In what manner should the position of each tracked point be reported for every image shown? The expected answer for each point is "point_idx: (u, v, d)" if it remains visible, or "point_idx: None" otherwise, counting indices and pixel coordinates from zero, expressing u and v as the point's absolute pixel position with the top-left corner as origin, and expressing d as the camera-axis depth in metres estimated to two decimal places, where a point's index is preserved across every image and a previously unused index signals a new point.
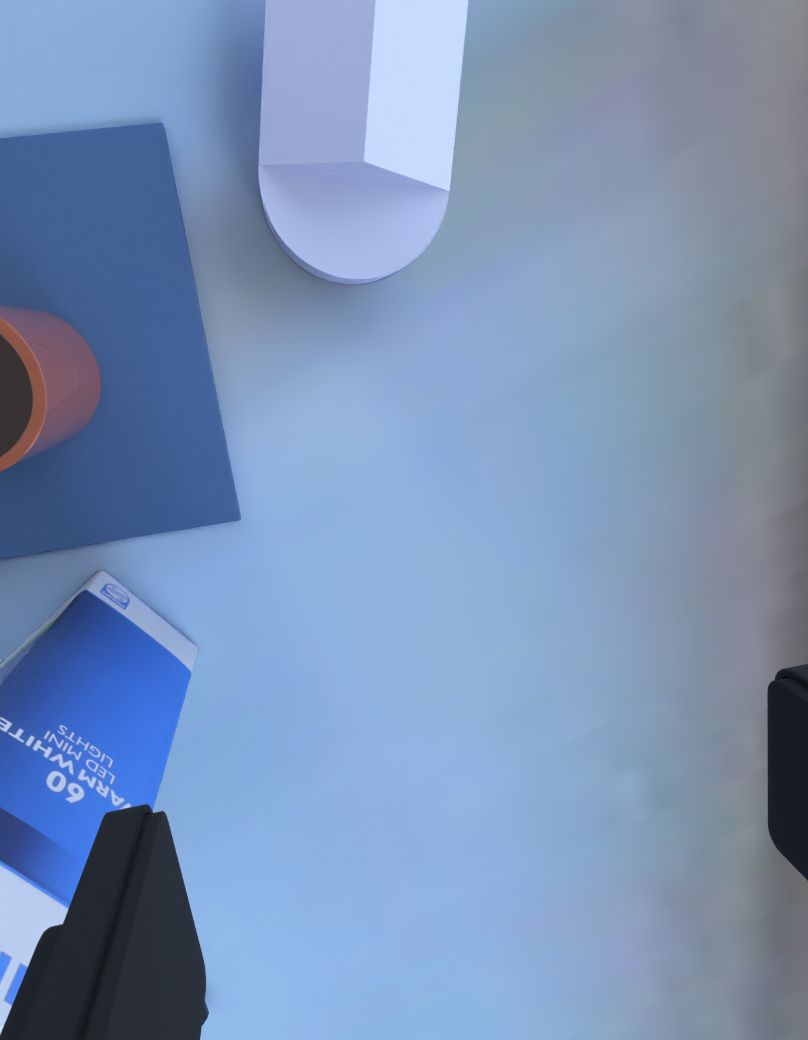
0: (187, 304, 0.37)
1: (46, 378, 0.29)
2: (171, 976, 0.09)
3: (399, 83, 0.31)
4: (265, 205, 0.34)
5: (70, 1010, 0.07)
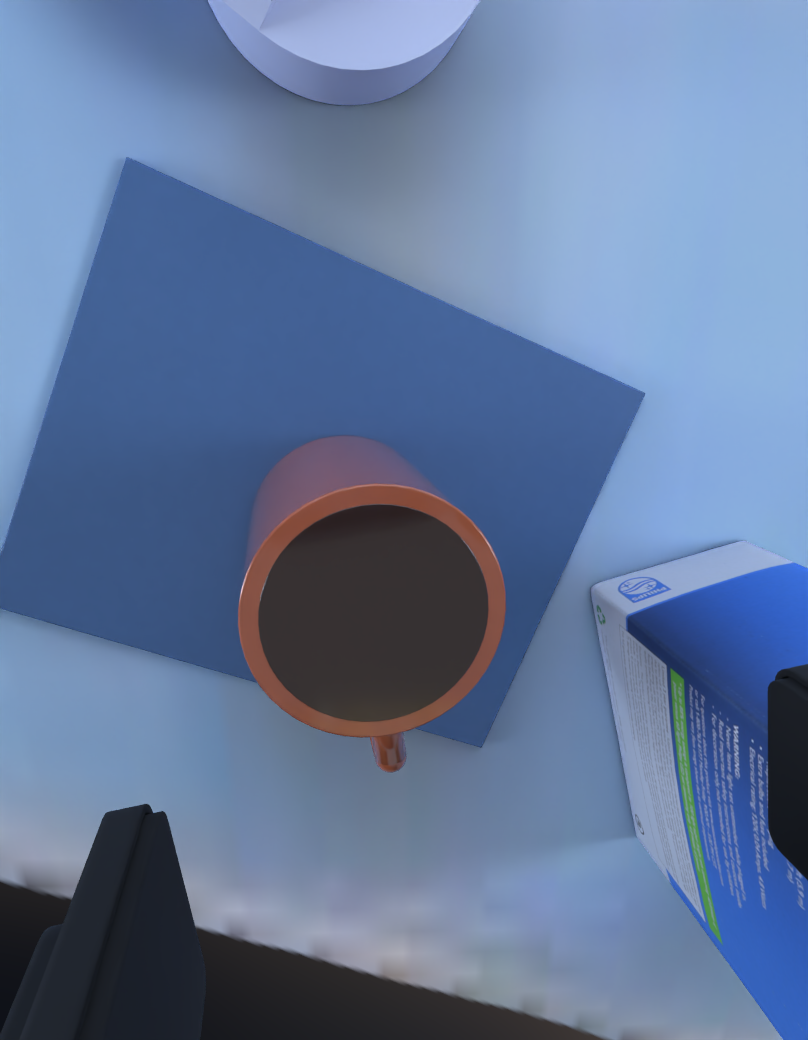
0: (363, 282, 0.25)
1: (426, 490, 0.18)
2: (171, 976, 0.09)
3: None
4: (316, 60, 0.21)
5: (70, 1010, 0.07)
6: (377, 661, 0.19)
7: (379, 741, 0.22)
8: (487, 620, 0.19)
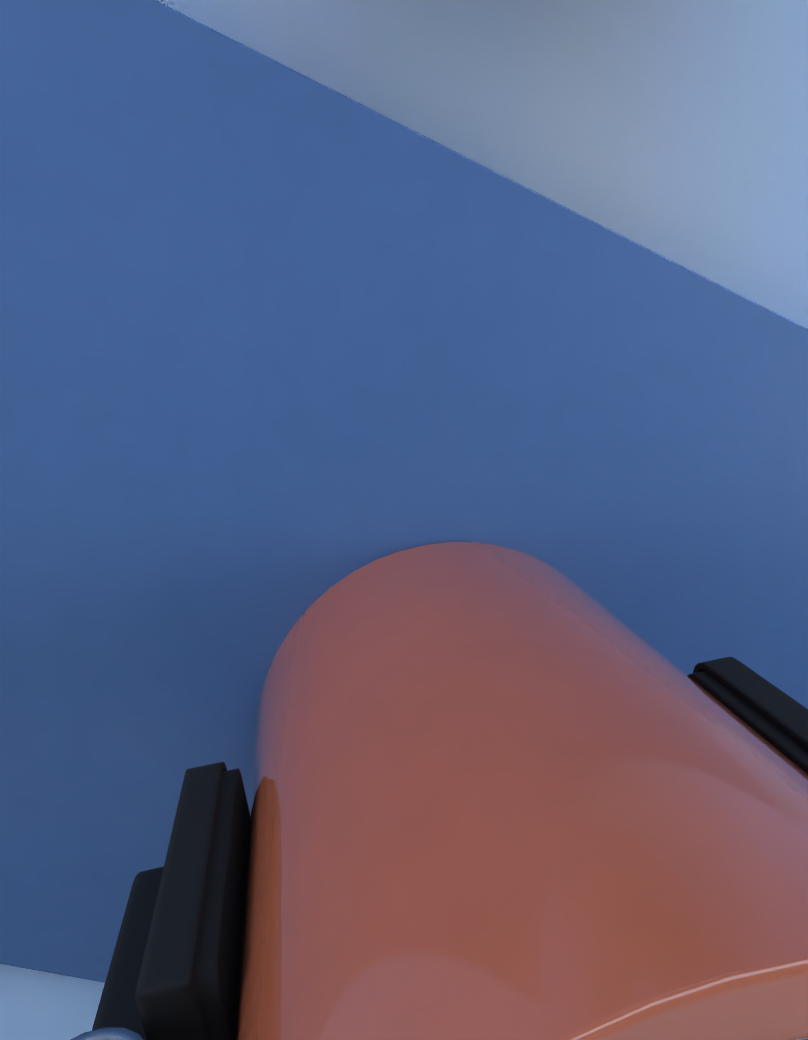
0: (505, 215, 0.12)
1: None
2: None
3: None
4: None
5: (186, 929, 0.07)
6: None
7: None
8: None
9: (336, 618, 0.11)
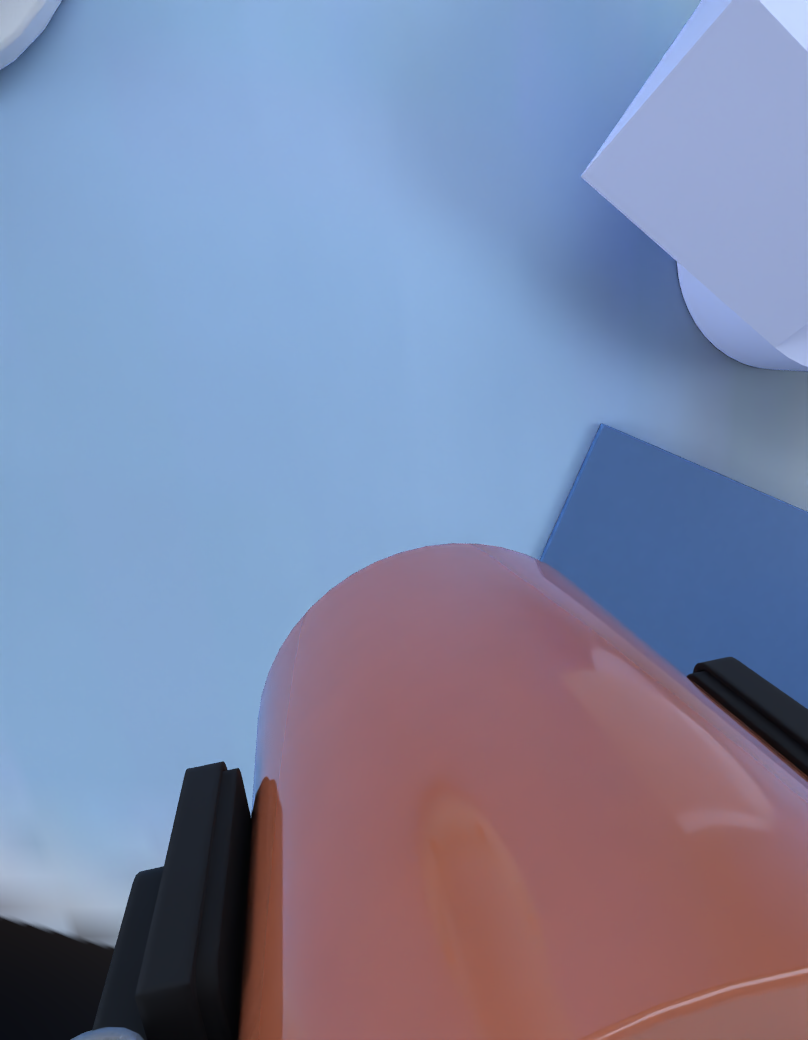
0: (779, 514, 0.28)
1: None
2: None
3: None
4: None
5: (186, 929, 0.07)
6: None
7: None
8: None
9: (336, 620, 0.11)
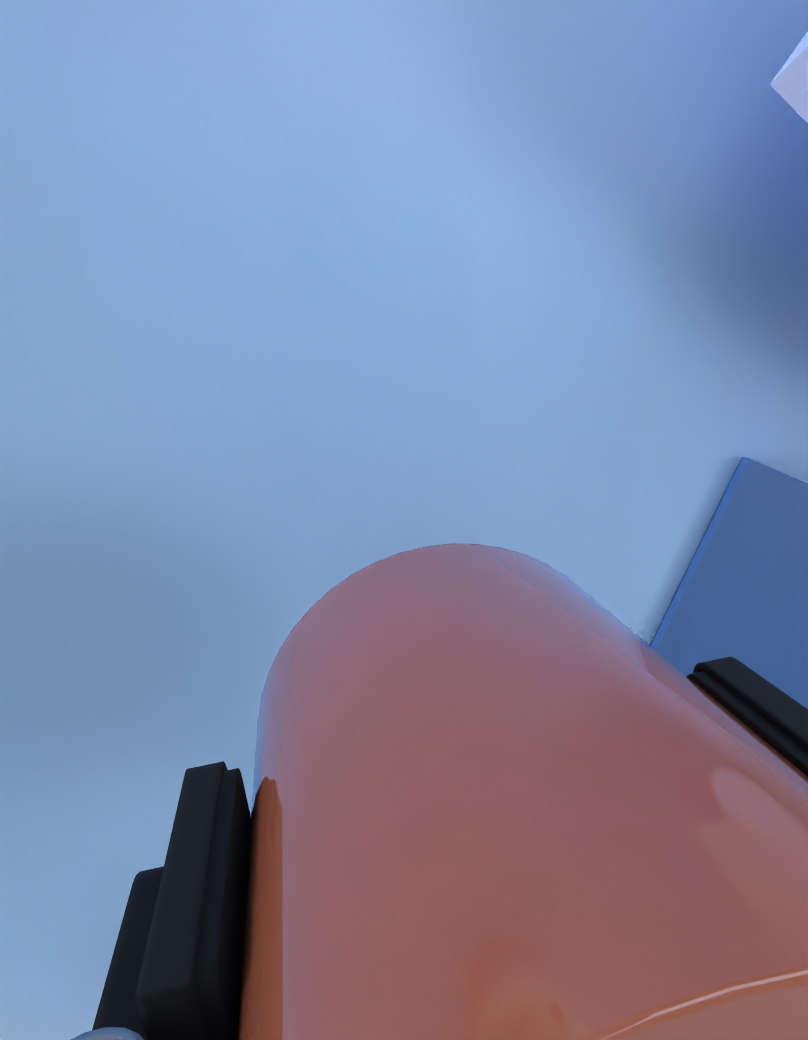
0: None
1: None
2: None
3: None
4: None
5: (186, 929, 0.07)
6: None
7: None
8: None
9: (337, 620, 0.11)
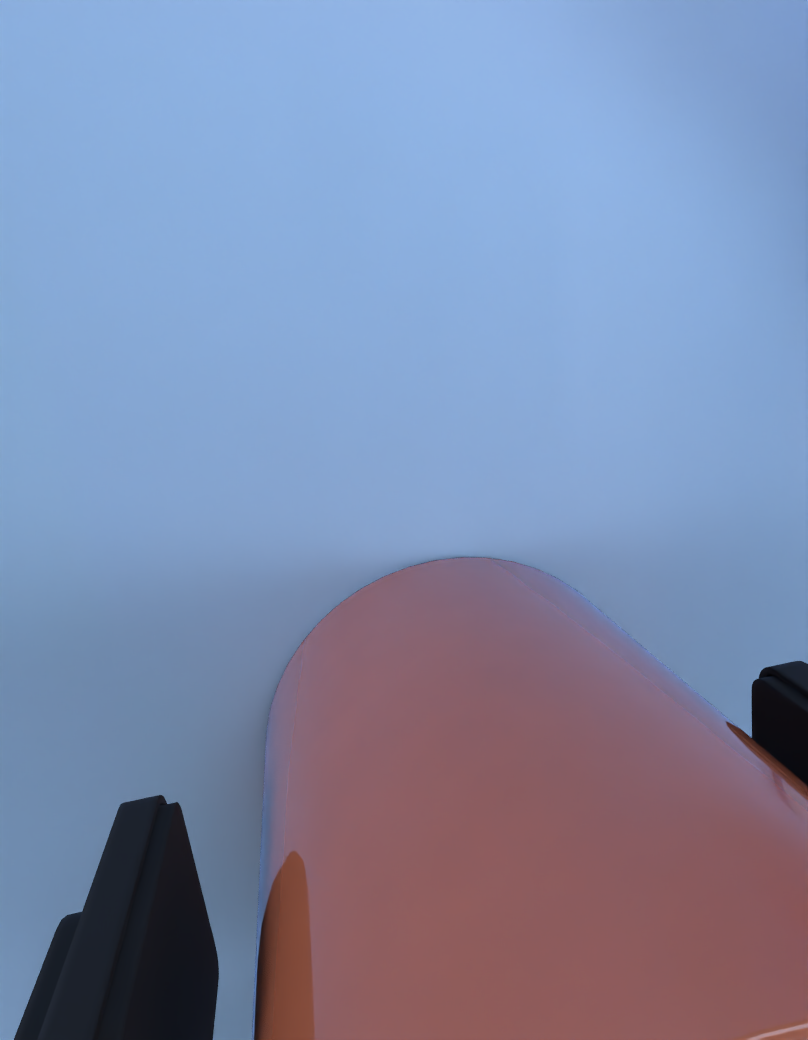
0: None
1: None
2: (187, 964, 0.09)
3: None
4: None
5: (93, 993, 0.07)
6: None
7: None
8: None
9: (347, 636, 0.11)
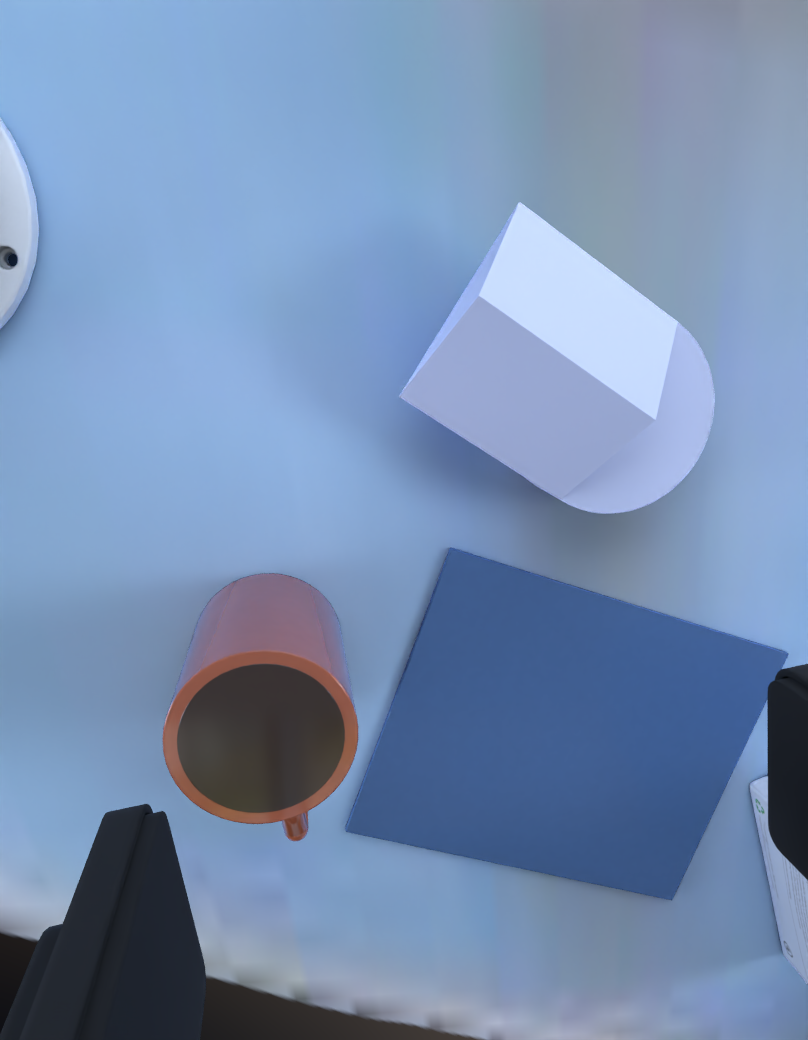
0: (598, 605, 0.37)
1: (292, 650, 0.26)
2: (171, 976, 0.09)
3: (594, 339, 0.28)
4: (594, 511, 0.32)
5: (70, 1010, 0.07)
6: (266, 770, 0.27)
7: None
8: (344, 737, 0.27)
9: (214, 603, 0.33)
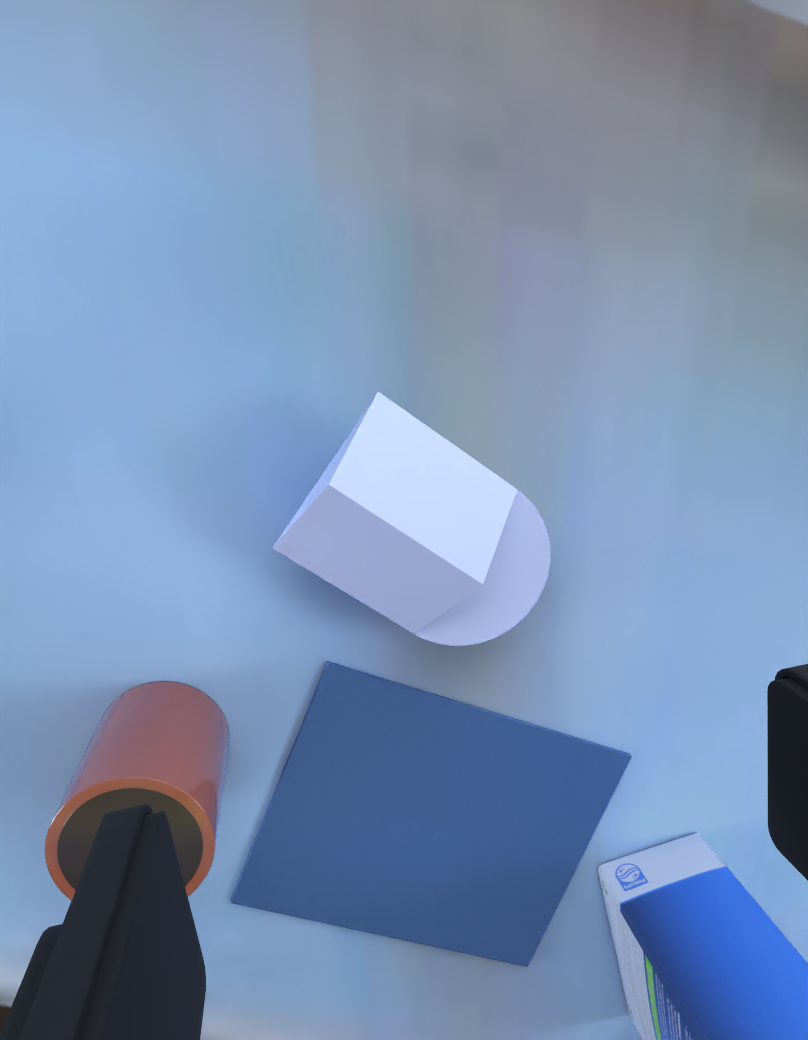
0: (460, 712, 0.42)
1: (158, 776, 0.31)
2: (171, 976, 0.09)
3: (434, 514, 0.33)
4: (445, 643, 0.37)
5: (70, 1010, 0.07)
6: None
7: None
8: (202, 848, 0.32)
9: (112, 710, 0.37)
